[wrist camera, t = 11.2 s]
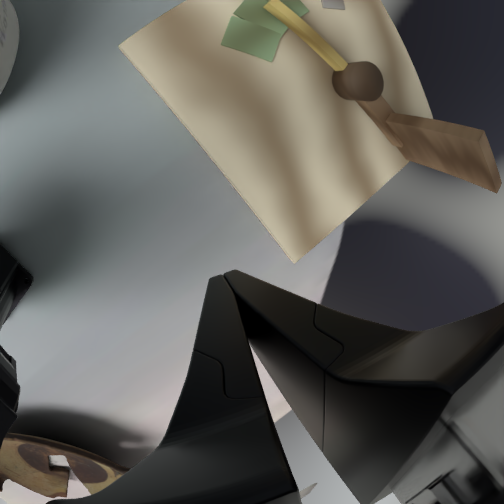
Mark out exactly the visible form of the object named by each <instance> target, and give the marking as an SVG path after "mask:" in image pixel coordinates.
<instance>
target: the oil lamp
mask: <svg viewBox="0 0 504 504" xmlns="http://www.w3.org/2000/svg"><path fill="white" fill-rule="evenodd" d="M49 455H64V456H65V457H66V458H67V461H68V463H69V466H70V467H71V469H72V471H73V472H74V473H75V475H76V476H77V478H78V479H79V480H80V481H81V482H82V483H83V485H84V486H85V487H86V488H87V489H88V491H89V492H90V494H91V495H92V494H94V493H97V492H99V491H101V490H102V489H104V488H106V487H107V486H109V485H110V484H111V483H113V482H114V481H115V480H117V479H118V478H120V477H121V476H122V475H124V474H125V473H126V472H128V471H129V470H130V469H131V468H126V467H123V466H120V465H118V464H116V463H114V462H112V461H110V460H108V459H106V458H104V457H101V456H99V455H97V454H94V453H92V452H89V451H87V450H84V449H81V448H78V447H75V446H72V445H68V444H65V443H61V442H58V441H54V440H50V439H46V438H42V437H37V436H32V435H24V434H16V433H7V434H6V436H5V438H4V440H3V443H2V446H1V449H0V492H2V486H3V483H4V481H5V480H7V479H10V480H11V481H13V482H16V483H18V484H20V485H22V486H24V487H26V488H28V489H30V490H32V491H34V492H36V493H39V494H41V495H44V496H46V497H51V498H55V497H58V496H60V497H67V488H68V480H69V470H68V469H66V468H61V467H60V468H57V467H54V468H49V458H48V456H49Z"/></svg>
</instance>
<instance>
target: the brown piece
mask: <svg viewBox="0 0 504 504" xmlns="http://www.w3.org/2000/svg"><path fill="white" fill-rule="evenodd" d="M263 8H265V9H266V10H267V11H269V12H270V13H271V14H272V15H274V16H275V17H276V18H277V19H279V20H280V21H281V22H282V23H284V24H285V25H286V26H287V27H288V28H290V29H291V30H292V31H293V32H294V33H295V34H297V35H298V36H299V37H300V38H301V39H302V40H303V41H304V42H306V43H307V44H308V45H309V46H310V47H311V48H312V49H313V50H314V51H315V52H316V53H317V54H318V55H320V56H321V57H322V58H323V59H324V60H325V61H326V62H327V63H328V64H329V65H330V66H331V67H332V68H333V69H334V72H333V75H332V84H333V87H334V90H335V91H336V93H337V94H338V95H339V96H340V97H341V98H343V99H345V100H355V101H356V102H357V103H358V105H359V106H360V107H361V108H362V109H363V110H364V111H365V113H366V114H367V115H368V116H369V117H370V118H371V119H372V121H373V122H374V123H375V124H376V125H377V127H378V128H379V129H380V130H381V132H382V133H383V134H384V135H385V136H386V138H387V139H388V140H389V141H390V143H391V144H392V145H394V146H396V147H397V148H398V149H399V151H400V152H401V153H402V155H403V156H404V157H405V159H406V160H409V161H412V162H415V163H418V164H421V165H424V166H427V167H430V168H433V169H436V170H439V171H442V172H444V173H447V174H450V175H453V176H455V177H458V178H460V179H463V180H466V181H468V182H471V183H473V184H476V185H478V186H481V187H483V188H485V189H488V190H490V191H492V192H495V193H497V192H498V190H499V188H500V186H501V183H502V182H501V179H500V175H499V172H498V169H497V166H496V163H495V160H494V157H493V154H492V151H491V148H490V145H489V143H488V140H487V137H486V135H485V132H484V131H483V130H479V129H476V128H472V127H467V126H463V125H459V124H454V123H449V122H445V121H439V120H434V119H430V118H424V117H418V116H412V115H406V114H399V113H395V112H394V111H393V109H392V108H391V107H390V105H389V104H388V103H387V102H386V100H385V99H384V98H383V97H382V95H381V94H382V92H383V88H384V80H383V76H382V74H381V72H380V70H379V68H378V67H377V66H376V65H375V64H373V63H371V62H368V61H361V62H351V63H347V62H346V61H345V60H344V59H343V58H342V57H341V56H340V55H339V54H338V53H337V52H336V51H335V50H334V49H333V48H332V47H331V46H330V45H329V44H328V43H327V42H326V41H325V40H324V39H323V38H322V37H321V36H320V35H319V34H318V33H317V32H316V31H314V30H313V29H312V28H311V27H310V26H309V25H308V24H307V23H306V22H305V21H303V20H302V19H301V18H300V17H299V16H298V15H297V14H295V13H294V12H293V11H292V10H291V9H289V8H288V7H287V6H286V5H285V4H283V3H282V2H281V1H280V0H270V1H269V2H268V3H267V4H266V5H265V6H264V7H263Z"/></svg>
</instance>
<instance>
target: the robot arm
mask: <svg viewBox="0 0 504 504" xmlns="http://www.w3.org/2000/svg"><path fill="white" fill-rule="evenodd" d="M25 278H27V279H28V280H29V281H26V279H25ZM32 282H33V277H32V275H31V274H30V273H29V272H28V271H27V270H25V269H24V268H23V267H22V266H21V265H20V264H19V263H18V262H17V260H16V259H14V258H13V257H12V256H11V255H10V254H9V253H8V252H7V251H6V250H5V249H4V248H3V247H2V246H1V245H0V330H1V327H2V325H3V324H4V323H5V321H6V320H7V318H8V317H9V315H10V314H11V312H12V311H13V310H14V308H15V307H16V305H17V304H18V302H19V301H20V300H21V298H22V297H23V296H24V294H25V293H26V291H27V290H28V289H29V287H30V286H31V285H32ZM249 343H250V345H251V347H252V348H253V350H254V352H255V353H256V355H257V356H258V358H259V359H260V361H261V363H262V364H263V366H264V367H265V369H266V370H267V372H268V373H269V375H270V376H271V378H272V379H273V381H274V383H275V384H276V386H277V387H278V389H279V390H280V392H281V393H282V395H283V396H284V398H285V399H286V401H287V402H288V404H289V405H290V407H291V408H292V410H293V411H294V413H295V414H296V415H297V417H298V418H299V420H300V421H301V423H302V424H303V426H304V427H305V428H306V430H307V431H308V433H309V434H310V436H311V437H312V439H313V440H314V441H315V443H316V444H317V445H318V447H319V448H320V450H321V451H322V452H323V454H324V456H325V457H326V458H327V460H328V461H329V463H330V464H331V465H332V467H333V468H334V469H335V471H336V472H337V473H338V475H339V476H340V478H341V479H342V480H343V481H344V483H345V484H346V486H347V487H348V488H349V489H350V491H351V492H352V493H353V495H354V496H355V497H356V499H357V500H358V501H359V502H360V504H374V503H375V502H377V501H379V500H381V499H382V498H384V497H386V496H387V495H389V494H390V493H392V492H393V493H394V494H395V496H396V497H397V498H398V500H399V501H400V503H401V504H504V303H502V304H500V305H498V306H497V307H494V308H492V309H490V310H487V311H485V312H482V313H479V314H476V315H474V316H470V317H467V318H465V319H462V320H459V321H456V322H453V323H449V324H446V325H443V326H440V327H436V328H433V329H430V330H425V331H406V330H402V329H398V328H394V327H390V326H386V325H383V324H379V323H375V322H372V321H368V320H364V319H361V318H357V317H354V316H351V315H347V314H344V313H341V312H339V311H336V310H333V309H331V308H328V307H325V306H323V305H321V304H317V303H315V302H313V301H311V300H308V299H306V298H303V297H301V296H298V295H296V294H293V293H291V292H289V291H286V290H284V289H281V288H279V287H277V286H274V285H272V284H269V283H267V282H265V281H262V280H260V279H257V278H255V277H253V276H250V275H248V274H246V273H243V272H241V271H238V270H232V271H229V272H226V273H224V274H223V275H217V276H215V277H212V278H210V279H209V282H208V286H207V290H206V294H205V299H204V303H203V307H202V312H201V316H200V321H199V325H198V330H197V334H196V339H195V343H194V348H193V352H192V357H191V361H190V365H189V369H188V373H187V377H186V380H185V383H184V386H183V388H182V391H181V394H180V397H179V399H178V402H177V405H176V407H175V410H174V413H173V415H172V418H171V421H170V423H169V426H168V429H167V431H166V434H165V436H164V438H163V440H162V441H161V443H160V444H159V446H158V447H157V448H156V449H155V450H154V451H153V452H152V453H151V454H150V455H148V456H147V457H146V458H145V459H143V460H142V461H141V462H139V463H138V464H137V465H136V466H134V467H133V468H132V469H130V470H129V471H128V472H126V473H125V474H124V475H122V476H121V477H120V478H118V479H117V480H115V481H114V482H113V483H111V484H110V485H109V486H107V487H106V488H104V489H102V490H101V491H99V492H97V493H94V494H92V495H90V496H86V497H83V498H77V499H57V500H51V501H49V502H47V503H46V504H302V502H301V498H300V494H299V489H298V487H297V485H296V482H295V479H294V477H293V475H292V472H291V469H290V467H289V464H288V461H287V458H286V455H285V453H284V450H283V447H282V444H281V442H280V439H279V436H278V433H277V430H276V428H275V425H274V422H273V419H272V416H271V413H270V410H269V407H268V404H267V401H266V397H265V394H264V391H263V388H262V384H261V381H260V378H259V375H258V371H257V368H256V365H255V361H254V358H253V355H252V351H251V348H250V345H249ZM19 395H20V385H19V384H18V383H17V373H16V361H15V360H14V359H13V357H12V356H9V355H8V354H7V352H6V351H5V350H4V349H3V348H2V346H1V345H0V449H1V446H2V443H3V440H4V438H5V436H6V434H7V432H8V430H9V428H10V427H11V425H12V424H13V423H14V421H15V420H16V419H17V414H16V412H17V408H18V400H19Z"/></svg>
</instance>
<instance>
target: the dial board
mask: <svg viewBox="0 0 504 504" xmlns="http://www.w3.org/2000/svg"><path fill="white" fill-rule="evenodd" d="M269 1H270V0H186V1H185V2H183V3H181V4H179V5H178V6H176V7H174V8H173V9H171V10H169V11H168V12H166V13H164V14H163V15H161V16H160V17H158V18H157V19H155V20H154V21H152V22H151V23H149V24H148V25H146V26H145V27H143V28H142V29H140V30H139V31H137V32H136V33H135V34H133V35H132V36H130V37H129V38H128V39H126V40H125V41H124V42H122V43H121V44H120V45H119V49H120V50H121V51H122V53H123V54H124V55H125V56H126V57H127V58H128V59H129V61H130V62H131V63H132V64H133V65H134V66H135V68H136V69H137V70H138V71H139V72H140V74H141V75H142V76H143V77H144V78H145V79H146V81H147V82H148V83H149V84H150V85H151V87H152V88H153V89H154V90H155V91H156V92H157V94H158V95H159V96H160V97H161V98H162V100H163V101H164V102H165V103H166V104H167V106H168V107H169V108H170V109H171V110H172V112H173V113H174V114H175V115H176V117H177V118H178V119H179V120H180V121H181V123H182V124H183V125H184V126H185V127H186V129H187V130H188V131H189V132H190V134H191V135H192V136H193V137H194V138H195V140H196V141H197V142H198V143H199V145H200V146H201V147H202V148H203V150H204V151H205V152H206V153H207V154H208V156H209V157H210V158H211V159H212V161H213V162H214V163H215V164H216V166H217V167H218V168H219V169H220V171H221V172H222V173H223V174H224V176H225V177H226V178H227V179H228V181H229V182H230V183H231V184H232V186H233V187H234V188H235V189H236V191H237V192H238V193H239V195H240V196H241V197H242V198H243V200H244V201H245V202H246V203H247V205H248V206H249V207H250V209H251V210H252V211H253V212H254V214H255V215H256V216H257V217H258V219H259V220H260V221H261V223H262V224H263V225H264V226H265V228H266V229H267V230H268V232H269V233H270V234H271V236H272V237H273V238H274V239H275V241H276V242H277V243H278V245H279V246H280V247H281V249H282V250H283V251H284V252H285V254H286V255H287V256H288V258H289V259H290V260H291V261H292V262H293V263H294V264H295V263H296V262H297V261H298V260H299V259H301V258H302V257H303V256H304V255H305V254H306V253H308V252H309V251H310V250H311V249H312V248H313V247H315V246H316V245H317V244H318V243H319V242H320V241H322V240H323V239H324V238H325V237H326V236H327V235H328V234H330V233H331V232H332V231H333V230H334V229H335V228H336V227H338V226H339V225H340V224H341V223H342V222H343V221H344V220H346V219H347V218H348V217H349V216H350V215H351V214H352V213H353V212H354V211H356V210H357V209H358V208H359V207H360V206H361V205H362V204H363V203H365V202H366V201H367V200H368V199H369V198H370V197H371V196H372V195H373V194H375V193H376V192H377V191H378V190H379V189H380V188H381V187H382V186H383V185H385V184H386V183H387V182H388V181H389V180H390V179H391V178H392V177H393V176H394V175H395V174H396V173H397V172H399V171H400V170H401V169H402V168H403V167H404V166H405V165H406V164H407V163H408V162H409V160H406V159H405V157H404V156H403V155H402V153H401V152H400V151H399V149H398V148H397V147H396V146H394V145H392V144H391V143H390V141H389V140H388V139H387V138H386V136H385V135H384V134H383V133H382V132H381V130H380V129H379V128H378V127H377V125H376V124H375V123H374V122H373V121H372V119H371V118H370V117H369V116H368V115H367V114H366V113H365V111H364V110H363V109H362V108H361V107H360V106H359V105H358V103H357V102H356V101H355V100H345V99H343V98H341V97H340V96H339V95H338V94H337V93H336V91H335V90H334V87H333V84H332V75H333V72H334V69H333V68H332V67H331V66H330V65H329V64H328V63H327V62H326V61H325V60H324V59H323V58H322V57H321V56H320V55H318V54H317V53H316V52H315V51H314V50H313V49H312V48H311V47H310V46H309V45H308V44H307V43H306V42H304V41H303V40H302V39H301V38H300V37H299V36H298V35H297V34H295V33H294V32H293V31H292V30H291V29H290V28H288V27H287V26H286V25H285V24H284V23H282V22H281V21H280V20H279V19H277V18H276V17H275V16H274V15H272V14H271V13H270V12H269V11H267V10H266V9H265V8H263V7H264V6H265V5H266V4H267V3H268V2H269ZM280 1H281V2H282V3H283V4H285V5H286V6H287V7H288V8H289V9H291V10H292V11H293V12H294V13H295V14H297V15H298V16H299V17H300V18H301V19H302V20H303V21H305V22H306V23H307V24H308V25H309V26H310V27H311V28H312V29H313V30H314V31H316V32H317V33H318V34H319V35H320V36H321V37H322V38H323V39H324V40H325V41H326V42H327V43H328V44H329V45H330V46H331V47H332V48H333V49H334V50H335V51H336V52H337V53H338V54H339V55H340V56H341V57H342V58H343V59H344V60H345V61H346V62H347V63H351V62H361V61H368V62H371V63H373V64H375V65H376V66H377V67H378V68H379V70H380V72H381V74H382V76H383V80H384V88H383V92H382V94H381V95H382V97H383V98H384V99H385V100H386V102H387V103H388V104H389V105H390V107H391V108H392V109H393V111H394V112H395V113H399V114H406V115H412V116H418V117H424V118H430V119H433V116H432V113H431V110H430V108H429V104H428V102H427V99H426V96H425V94H424V90H423V88H422V85H421V83H420V80H419V78H418V75H417V73H416V70H415V68H414V66H413V63H412V61H411V59H410V57H409V54H408V52H407V50H406V48H405V46H404V44H403V41H402V40H401V37H400V36H399V33H398V31H397V29H396V28H395V26H394V24H393V22H392V20H391V18H390V16H389V14H388V13H387V11H386V9H385V7H384V6H383V4H382V2H381V0H280Z"/></svg>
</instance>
